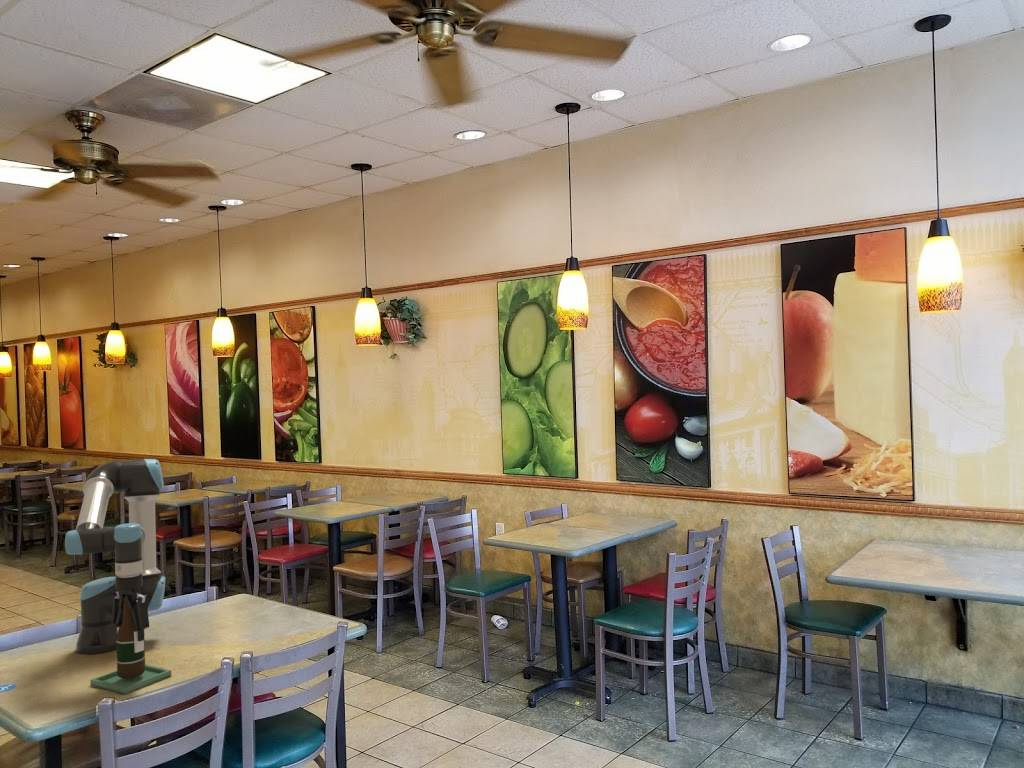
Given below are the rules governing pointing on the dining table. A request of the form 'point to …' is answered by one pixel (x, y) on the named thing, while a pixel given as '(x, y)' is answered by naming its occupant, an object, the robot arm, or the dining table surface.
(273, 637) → the dining table surface
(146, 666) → the tray
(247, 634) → the dining table surface
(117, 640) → the beer bottle
